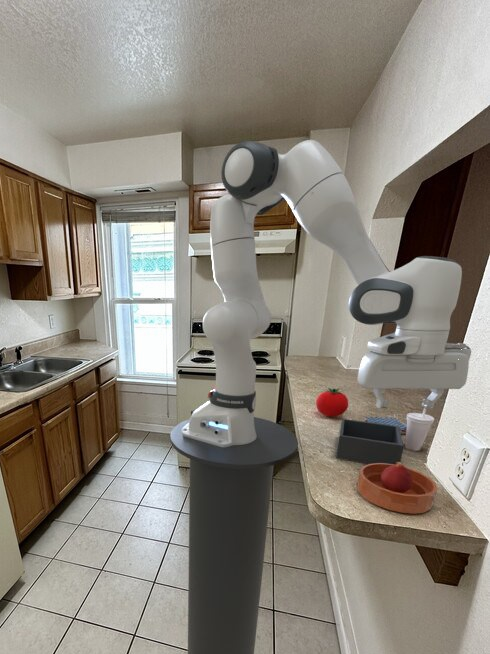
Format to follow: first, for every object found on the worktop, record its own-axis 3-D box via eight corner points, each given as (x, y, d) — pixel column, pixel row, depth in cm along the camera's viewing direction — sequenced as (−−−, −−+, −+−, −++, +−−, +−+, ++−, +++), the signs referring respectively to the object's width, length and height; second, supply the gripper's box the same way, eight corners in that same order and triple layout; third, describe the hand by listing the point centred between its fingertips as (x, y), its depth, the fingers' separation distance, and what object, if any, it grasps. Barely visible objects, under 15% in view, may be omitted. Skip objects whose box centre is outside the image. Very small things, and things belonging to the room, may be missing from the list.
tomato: (349, 421, 121) (354, 393, 118) (317, 420, 123) (321, 392, 120) (341, 411, 131) (346, 385, 127) (311, 410, 133) (315, 384, 129)
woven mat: (375, 433, 111) (376, 427, 111) (362, 421, 121) (363, 416, 120) (410, 435, 110) (412, 429, 109) (395, 422, 120) (396, 417, 119)
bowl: (356, 504, 76) (360, 486, 74) (357, 474, 88) (360, 458, 86) (437, 522, 70) (443, 503, 68) (426, 488, 81) (430, 470, 80)
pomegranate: (397, 487, 81) (404, 455, 78) (414, 501, 76) (423, 468, 73) (372, 487, 81) (379, 456, 78) (388, 502, 76) (396, 469, 73)
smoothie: (425, 454, 97) (438, 406, 92) (398, 449, 101) (409, 402, 96) (426, 446, 102) (439, 400, 97) (400, 441, 106) (411, 396, 101)
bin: (335, 458, 96) (339, 435, 94) (338, 438, 108) (341, 418, 106) (398, 469, 90) (404, 445, 88) (393, 447, 102) (398, 426, 100)
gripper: (462, 340, 74) (445, 403, 78) (360, 341, 75) (349, 402, 80) (485, 345, 68) (465, 413, 72) (374, 345, 69) (362, 412, 74)
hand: (403, 407), depth 76 cm, fingers open, 8 cm apart
